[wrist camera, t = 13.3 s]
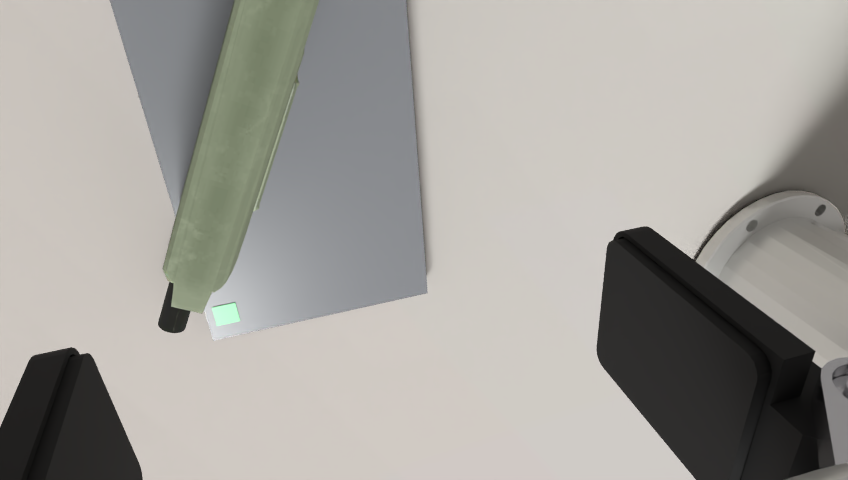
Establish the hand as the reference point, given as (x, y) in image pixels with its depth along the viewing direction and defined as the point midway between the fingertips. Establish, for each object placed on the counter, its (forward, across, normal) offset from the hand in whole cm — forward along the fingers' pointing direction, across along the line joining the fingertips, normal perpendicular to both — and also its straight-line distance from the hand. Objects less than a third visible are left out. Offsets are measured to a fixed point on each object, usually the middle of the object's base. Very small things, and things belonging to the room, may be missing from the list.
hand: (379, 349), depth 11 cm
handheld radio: (+19, +2, -1) cm, 20 cm away
